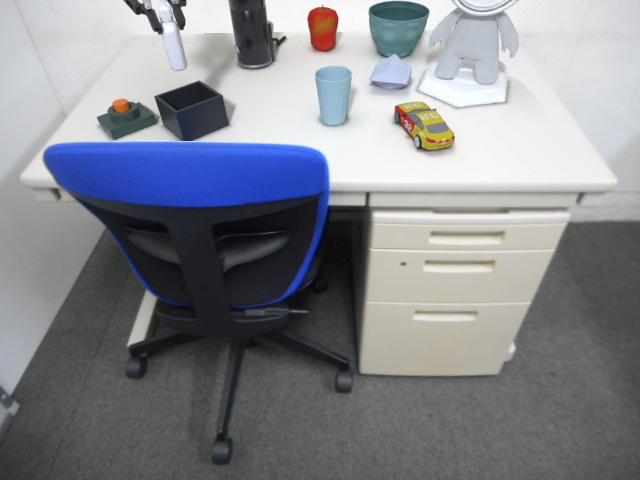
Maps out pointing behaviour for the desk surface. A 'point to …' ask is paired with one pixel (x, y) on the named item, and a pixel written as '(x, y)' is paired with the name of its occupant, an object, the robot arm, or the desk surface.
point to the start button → (121, 105)
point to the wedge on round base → (391, 73)
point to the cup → (333, 93)
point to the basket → (192, 110)
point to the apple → (323, 27)
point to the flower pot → (397, 26)
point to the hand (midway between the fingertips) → (171, 29)
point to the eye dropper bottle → (171, 38)
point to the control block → (126, 120)
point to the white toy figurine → (471, 54)
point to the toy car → (424, 125)
